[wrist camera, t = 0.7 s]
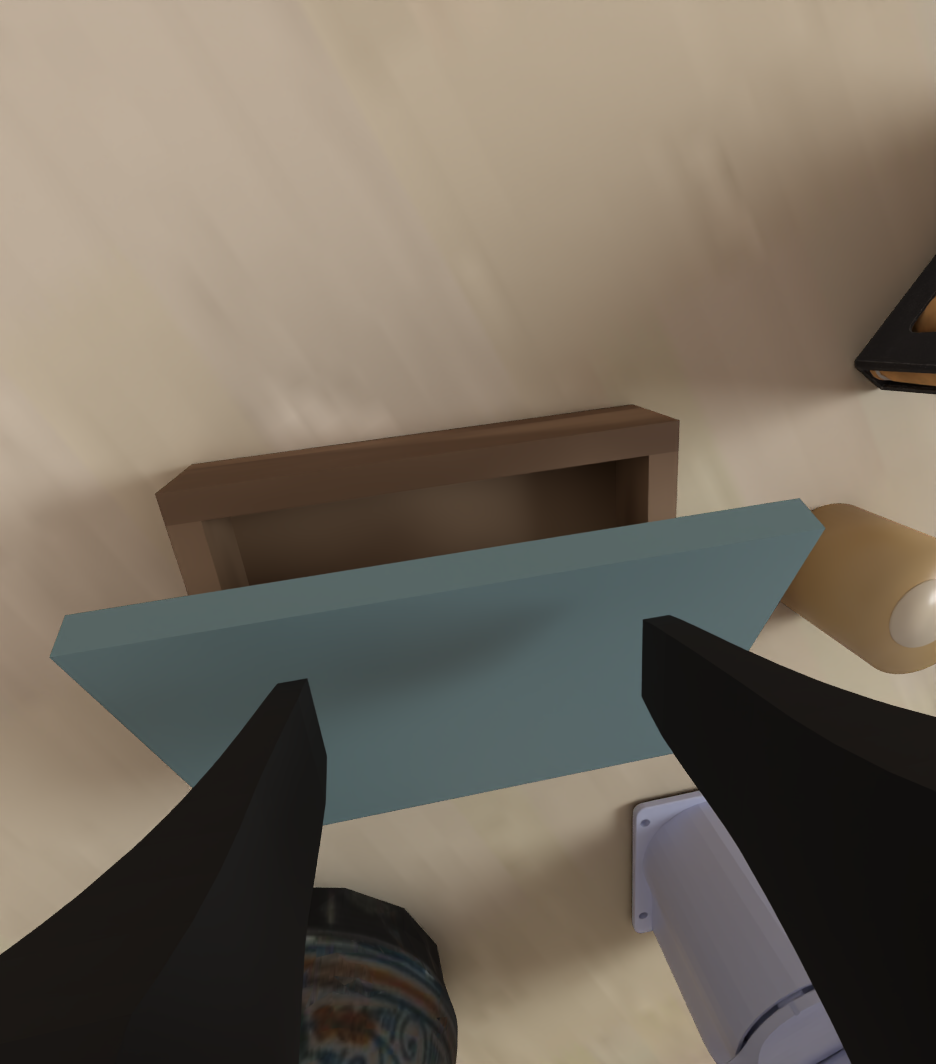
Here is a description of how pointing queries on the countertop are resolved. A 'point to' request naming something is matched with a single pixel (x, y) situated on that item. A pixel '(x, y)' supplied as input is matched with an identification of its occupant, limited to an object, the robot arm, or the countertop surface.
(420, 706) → the lid
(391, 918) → the beer stein
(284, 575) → the walnut box
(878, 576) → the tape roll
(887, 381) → the ammunition clip
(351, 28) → the countertop surface
